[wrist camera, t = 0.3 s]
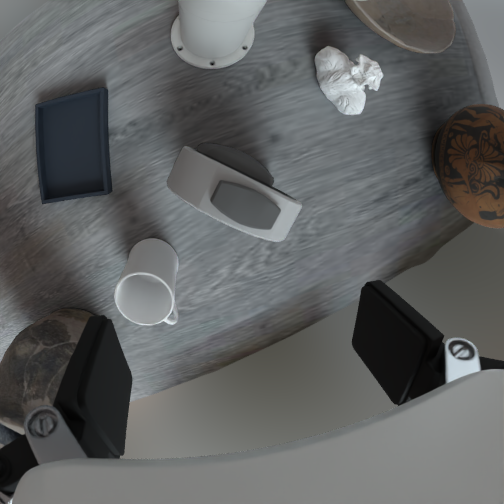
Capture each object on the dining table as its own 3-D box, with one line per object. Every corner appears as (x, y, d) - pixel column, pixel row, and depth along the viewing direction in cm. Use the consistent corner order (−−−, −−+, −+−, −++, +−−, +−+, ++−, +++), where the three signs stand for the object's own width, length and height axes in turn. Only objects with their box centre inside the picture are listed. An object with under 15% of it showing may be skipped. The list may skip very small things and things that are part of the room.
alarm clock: (286, 174, 45) (340, 198, 28) (256, 230, 47) (292, 282, 31) (193, 129, 39) (193, 120, 23) (164, 190, 42) (146, 223, 25)
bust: (343, 114, 45) (401, 100, 36) (327, 126, 41) (394, 109, 32) (314, 54, 40) (371, 33, 31) (294, 58, 35) (358, 31, 27)
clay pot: (46, 269, 42) (-40, 385, 15) (151, 328, 50) (139, 475, 23) (27, 346, 46) (-21, 450, 19) (114, 391, 55) (100, 506, 28)
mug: (195, 288, 49) (198, 330, 38) (154, 306, 49) (147, 350, 38) (163, 229, 44) (155, 259, 33) (119, 251, 44) (100, 286, 33)
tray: (42, 105, 32) (35, 104, 30) (108, 89, 34) (103, 87, 32) (48, 200, 38) (41, 204, 36) (112, 191, 40) (108, 194, 38)
